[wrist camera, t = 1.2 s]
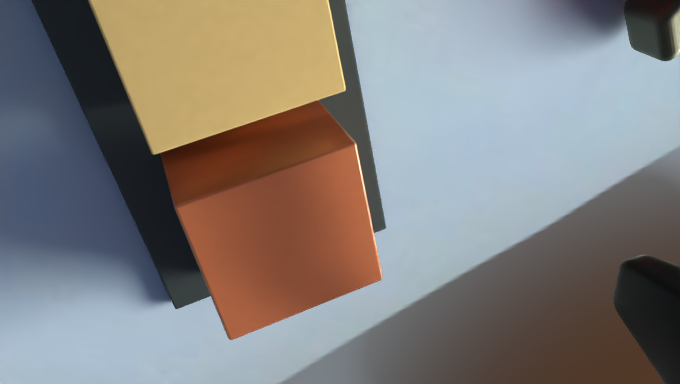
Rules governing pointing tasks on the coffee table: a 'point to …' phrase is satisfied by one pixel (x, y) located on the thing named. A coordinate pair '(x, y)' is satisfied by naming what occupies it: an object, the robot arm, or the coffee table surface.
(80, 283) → the coffee table surface
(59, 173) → the coffee table surface
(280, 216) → the terracotta orange cube
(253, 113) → the long dark base plate
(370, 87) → the coffee table surface
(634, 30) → the toy gun
